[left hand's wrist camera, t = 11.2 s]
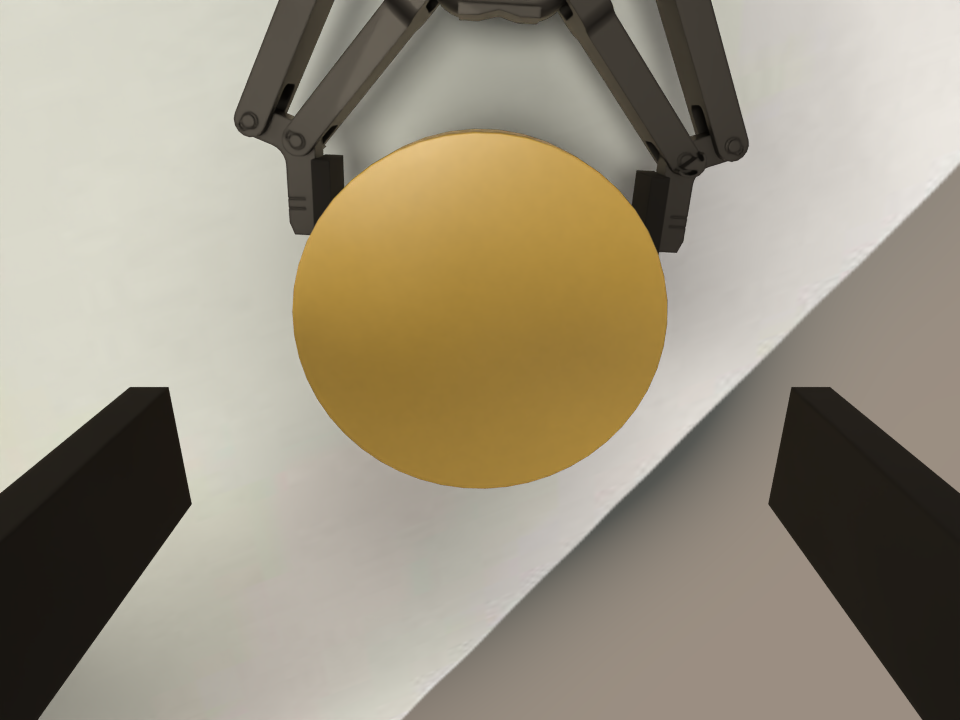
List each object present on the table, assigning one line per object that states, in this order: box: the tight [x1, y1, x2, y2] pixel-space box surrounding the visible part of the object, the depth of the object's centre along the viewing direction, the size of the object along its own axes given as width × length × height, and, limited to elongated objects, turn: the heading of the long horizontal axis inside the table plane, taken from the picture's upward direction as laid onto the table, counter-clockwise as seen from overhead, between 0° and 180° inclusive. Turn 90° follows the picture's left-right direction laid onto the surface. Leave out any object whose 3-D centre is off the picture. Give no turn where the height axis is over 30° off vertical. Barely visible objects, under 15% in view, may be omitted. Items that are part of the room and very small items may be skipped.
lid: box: [292, 129, 667, 489], centre depth 21 cm, size 12×12×2 cm
